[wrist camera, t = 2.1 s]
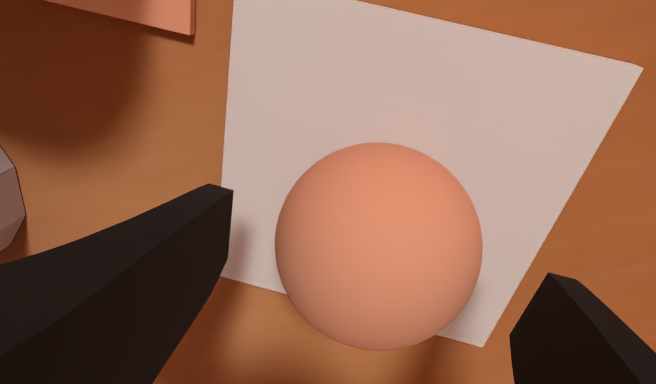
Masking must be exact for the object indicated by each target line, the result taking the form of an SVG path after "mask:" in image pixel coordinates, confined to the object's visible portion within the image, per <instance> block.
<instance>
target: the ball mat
mask: <svg viewBox="0 0 656 384" xmlns="http://www.w3.org/2000/svg"><path fill="white" fill-rule="evenodd" d="M643 69H644V68H642V67H640V66H637V65H635V64H632V63H627V62H623V61H619V60H614V59H610V58H606V57H601V56H597V55H592V54H588V53H584V52H579V51H575V50H571V49H566V48H562V47H558V46H553V45H549V44H545V43H540V42H536V41H531V40H527V39H523V38H518V37H514V36H510V35H505V34H501V33H497V32H492V31H488V30H483V29H479V28H475V27H470V26H466V25H462V24H457V23H453V22H449V21H444V20H440V19H436V18H431V17H427V16H422V15H418V14H414V13H409V12H405V11H401V10H396V9H392V8H388V7H383V6H379V5H374V4H370V3H366V2H361V1H357V0H234V5H233V20H232V34H231V49H230V64H229V79H228V94H227V109H226V123H225V138H224V153H223V168H222V183H221V187H224V188H227V189H231V190H234V193H233V205H232V217H231V229H230V241H229V252H228V260H227V262H226V264H225V266H224V268H223V270H222V272H221V274H220V276H221V277H225V278H228V279H232V280H236V281H239V282H243V283H247V284H250V285H254V286H258V287H261V288H265V289H269V290H273V291H276V292H280V293H284V294H287V293H286V291H285V290H284V287H283V285H282V282H281V279H280V276H279V273H278V269H277V265H276V257H275V232H276V225H277V221H278V217H279V214H280V211H281V208H282V206H283V204H284V201H285V199H286V197H287V195H288V193H289V192H290V190H291V189H292V187H293V186H294V184H295V183H296V181H297V180H298V179H299V178H300V177H301V176H302V174H303V173H304V172H306V171H307V170H308V169H309V168H310V167H311V166H312V165H314V164H315V163H316V162H317V161H319V160H320V159H322V158H323V157H325V156H327V155H329V154H331V153H333V152H335V151H337V150H340V149H343V148H346V147H349V146H352V145H357V144H362V143H373V142H381V143H392V144H398V145H403V146H406V147H409V148H412V149H415V150H417V151H419V152H422V153H424V154H426V155H428V156H429V157H431V158H432V159H434V160H436V161H437V162H439V163H440V164H441V165H443V166H444V167H445V168H446V169H448V170H449V171H450V172H451V173H452V174H453V176H454V177H455V178H456V179H457V180H458V181H459V182H460V184H461V185H462V186H463V188H464V189H465V191H466V192H467V194H468V195H469V197H470V199H471V201H472V203H473V205H474V208H475V210H476V213H477V216H478V219H479V222H480V227H481V234H482V242H483V251H482V264H481V269H480V274H479V277H478V280H477V283H476V286H475V288H474V291H473V293H472V295H471V297H470V298H469V300H468V302H467V303H466V305H465V306H464V308H463V310H462V311H461V312H460V313H459V314H458V316H457V317H456V318H455V319H454V320H453V321H452V322H451V323H450V324H449V325H447V326H446V327H445V328H444V329H443V330H442V331H440V332H439V333H437V334H436V335H438V336H442V337H446V338H449V339H453V340H457V341H461V342H464V343H468V344H472V345H475V346H479V347H483V346H484V344H485V342H486V340H487V339H488V337H489V335H490V334H491V332H492V330H493V328H494V327H495V325H496V323H497V321H498V320H499V318H500V316H501V315H502V313H503V311H504V309H505V308H506V306H507V304H508V302H509V301H510V299H511V297H512V296H513V294H514V292H515V290H516V289H517V287H518V285H519V283H520V282H521V280H522V278H523V276H524V275H525V273H526V271H527V270H528V268H529V266H530V264H531V263H532V261H533V259H534V257H535V256H536V254H537V252H538V251H539V249H540V247H541V245H542V244H543V242H544V240H545V238H546V237H547V235H548V233H549V232H550V230H551V228H552V226H553V225H554V223H555V221H556V219H557V218H558V216H559V214H560V212H561V211H562V209H563V207H564V206H565V204H566V202H567V200H568V199H569V197H570V195H571V193H572V192H573V190H574V188H575V187H576V185H577V183H578V181H579V180H580V178H581V176H582V174H583V173H584V171H585V169H586V168H587V166H588V164H589V162H590V161H591V159H592V157H593V155H594V154H595V152H596V150H597V149H598V147H599V145H600V143H601V142H602V140H603V138H604V136H605V135H606V133H607V131H608V129H609V128H610V126H611V124H612V123H613V121H614V119H615V117H616V116H617V114H618V112H619V110H620V109H621V107H622V105H623V104H624V102H625V100H626V98H627V97H628V95H629V93H630V91H631V90H632V88H633V86H634V85H635V83H636V81H637V79H638V78H639V76H640V74H641V72H642V71H643Z"/></svg>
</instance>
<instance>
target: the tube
mask: <svg viewBox="0 0 656 384" xmlns="http://www.w3.org/2000/svg"><path fill="white" fill-rule="evenodd" d="M44 1H49V2H53V3H57V4H61V5H65V6H70V7H74V8H78V9H82V10H86V11H90V12H95V13H99V14H103V15H107V16H111V17H115V18H120V19H124V20H128V21H132V22H136V23H141V24H145V25H149V26H153V27H157V28H161V29H166V30H170V31H174V32H178V33H182V34H186V35H192V34H195V4H196V0H44Z"/></svg>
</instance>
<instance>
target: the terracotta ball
mask: <svg viewBox="0 0 656 384" xmlns="http://www.w3.org/2000/svg"><path fill="white" fill-rule="evenodd" d="M482 251H483V242H482V234H481V227H480V222H479V219H478V216H477V213H476V210H475V208H474V205H473V203H472V201H471V199H470V197H469V195H468V194H467V192H466V191H465V189H464V188H463V186H462V185H461V184H460V182H459V181H458V180H457V179H456V178H455V177H454V176H453V174H452V173H451V172H450V171H449V170H448V169H446V168H445V167H444V166H443V165H441V164H440V163H439V162H437V161H436V160H434V159H432V158H431V157H429V156H428V155H426V154H424V153H422V152H419V151H417V150H415V149H412V148H409V147H406V146H403V145H398V144H392V143H381V142H373V143H362V144H357V145H352V146H349V147H346V148H343V149H340V150H337V151H335V152H333V153H331V154H329V155H327V156H325V157H323V158H322V159H320V160H319V161H317V162H316V163H315V164H314V165H312V166H311V167H310V168H309V169H308V170H307V171H306V172H304V173H303V174H302V176H301V177H300V178H299V179H298V180H297V181H296V183H295V184H294V186H293V187H292V189H291V190H290V192H289V193H288V195H287V197H286V199H285V201H284V204H283V206H282V208H281V211H280V214H279V217H278V221H277V225H276V232H275V257H276V265H277V269H278V273H279V276H280V279H281V282H282V285H283V287H284V290H285V291H286V293H287V295H288V297H289V298H290V300H291V302H292V304H293V305H294V306H295V308H296V309H297V310H298V312H299V313H300V314H301V315H302V316H303V317H304V318H305V319H306V320H307V321H308V322H309V323H310V324H311V325H312V326H313V327H314V328H316V329H317V330H318V331H320V332H321V333H323V334H324V335H326V336H328V337H330V338H331V339H333V340H335V341H338V342H340V343H342V344H345V345H348V346H351V347H355V348H359V349H365V350H377V351H382V350H395V349H402V348H406V347H410V346H413V345H415V344H418V343H421V342H423V341H425V340H426V339H428V338H430V337H432V336H434V335H436V334H437V333H439V332H440V331H442V330H443V329H444V328H445V327H446V326H447V325H449V324H450V323H451V322H452V321H453V320H454V319H455V318H456V317H457V316H458V314H459V313H460V312H461V311H462V310H463V308H464V306H465V305H466V303H467V302H468V300H469V298H470V297H471V295H472V293H473V291H474V288H475V286H476V283H477V280H478V277H479V274H480V269H481V264H482Z"/></svg>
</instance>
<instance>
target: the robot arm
mask: <svg viewBox="0 0 656 384" xmlns="http://www.w3.org/2000/svg"><path fill="white" fill-rule="evenodd" d="M233 193H234V190H231V189H227V188H224V187H220V186H216V185H212V184H206V185H204V186H201V187H199V188H197V189H194V190H192V191H190V192H188V193H186V194H183V195H181V196H179V197H177V198H175V199H173V200H171V201H169V202H166V203H164V204H162V205H160V206H158V207H155V208H153V209H151V210H149V211H147V212H144V213H142V214H140V215H138V216H136V217H133V218H131V219H129V220H126V221H124V222H121V223H119V224H116V225H114V226H111V227H109V228H106V229H104V230H101V231H99V232H96V233H94V234H91V235H89V236H87V237H84V238H82V239H79V240H76V241H73V242H71V243H68V244H65V245H62V246H59V247H56V248H53V249H50V250H47V251H44V252H41V253H38V254H35V255H31V256H28V257H25V258H22V259H19V260H15V261H12V262H9V263H5V264H1V265H0V384H152V383H153V382H154V380H155V378H156V377H157V375H158V374H159V372H160V371H161V369H162V368H163V366H164V365H165V363H166V362H167V360H168V359H169V357H170V356H171V354H172V353H173V351H174V350H175V348H176V347H177V345H178V344H179V342H180V341H181V339H182V338H183V336H184V334H185V333H186V331H187V330H188V328H189V327H190V325H191V324H192V322H193V321H194V319H195V318H196V316H197V315H198V313H199V312H200V310H201V309H202V307H203V305H204V304H205V302H206V301H207V299H208V298H209V296H210V294H211V292H212V291H213V289H214V287H215V285H216V283H217V281H218V279H219V276H220V274H221V272H222V270H223V268H224V266H225V264H226V262H227V260H228V252H229V241H230V229H231V217H232V205H233ZM510 347H511V359H512V368H513V376H514V382H515V384H656V353H655V352H654V351H653V350H652V349H651V348H650V347H649V346H648V345H647V344H646V343H645V342H644V341H643V340H642V339H640V338H639V337H638V336H637V335H636V334H635V333H634V332H633V331H632V330H631V329H630V328H629V327H628V326H627V325H626V324H625V323H624V322H623V321H622V320H621V319H620V318H619V317H618V316H617V315H615V314H614V313H613V312H612V311H611V310H610V309H609V308H608V307H607V306H606V305H605V304H604V303H603V302H602V301H601V300H599V299H598V298H597V297H596V296H595V295H594V294H593V293H592V292H591V291H589V290H588V289H587V288H586V287H585V286H584V285H582V284H581V283H580V282H579V281H577V280H576V279H572V278H568V277H564V276H560V275H556V274H553V273H549V272H548V274H547V275H546V277H545V279H544V280H543V282H542V283H541V285H540V287H539V288H538V290H537V291H536V293H535V295H534V296H533V298H532V300H531V301H530V303H529V304H528V306H527V308H526V309H525V311H524V312H523V314H522V316H521V317H520V319H519V321H518V322H517V324H516V325H515V327H514V329H513V330H512V332H511V333H510Z"/></svg>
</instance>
